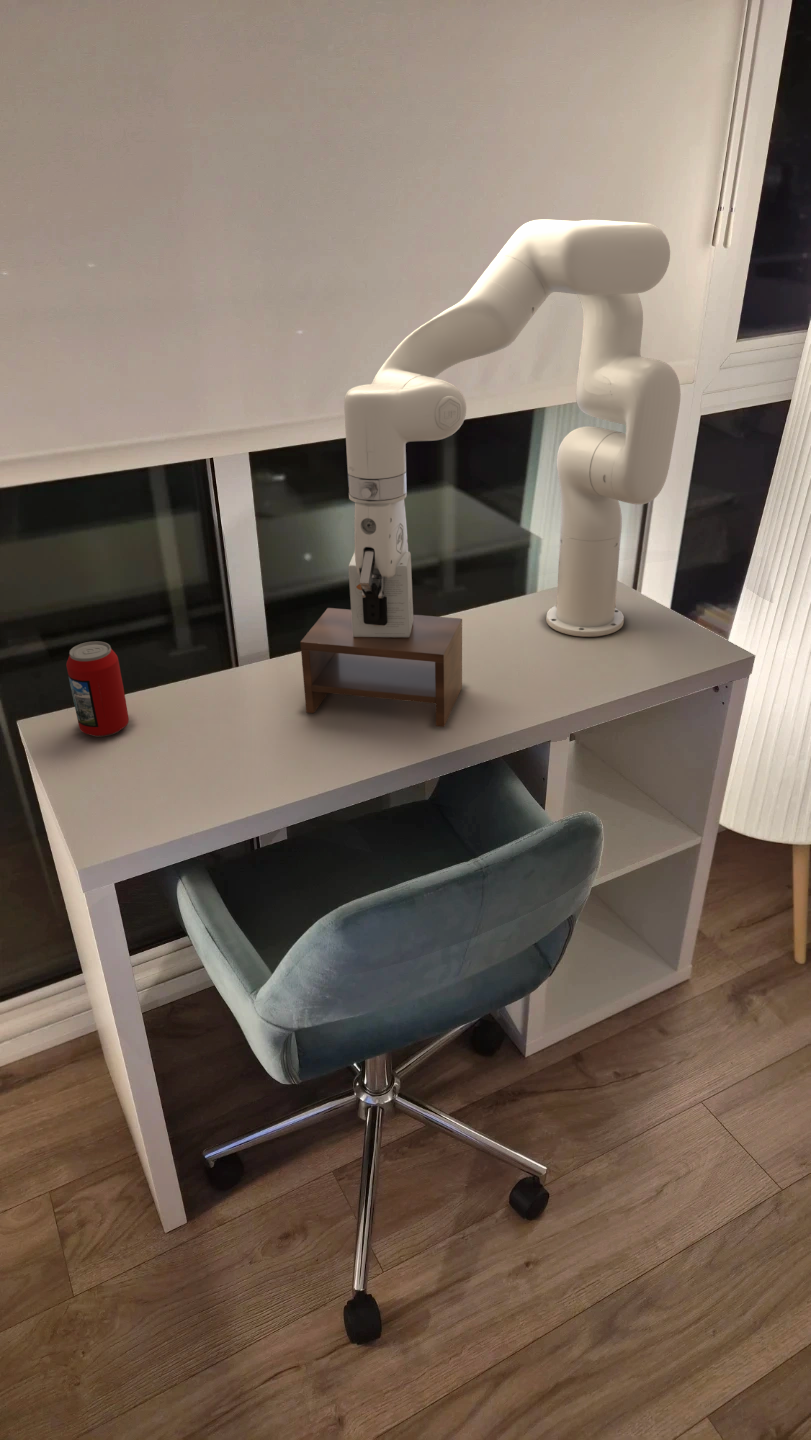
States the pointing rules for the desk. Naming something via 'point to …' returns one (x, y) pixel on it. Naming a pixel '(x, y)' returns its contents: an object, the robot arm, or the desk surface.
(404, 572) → the small box
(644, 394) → the robot arm
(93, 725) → the beverage can
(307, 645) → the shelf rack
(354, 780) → the desk surface
